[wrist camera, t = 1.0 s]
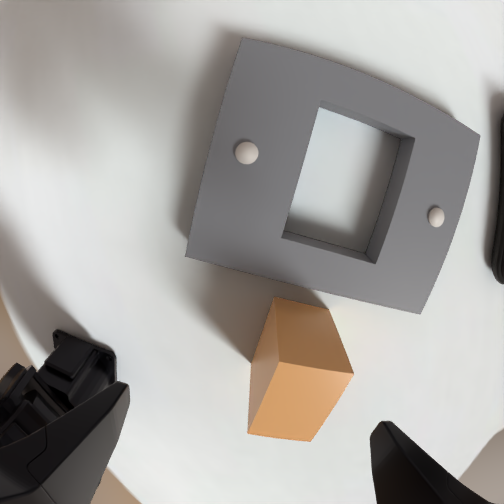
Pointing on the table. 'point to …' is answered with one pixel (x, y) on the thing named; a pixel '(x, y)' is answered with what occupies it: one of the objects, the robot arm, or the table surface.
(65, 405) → the robot arm
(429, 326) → the table surface
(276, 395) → the plug
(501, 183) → the carrying case or bag
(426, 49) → the table surface
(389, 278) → the socket board
